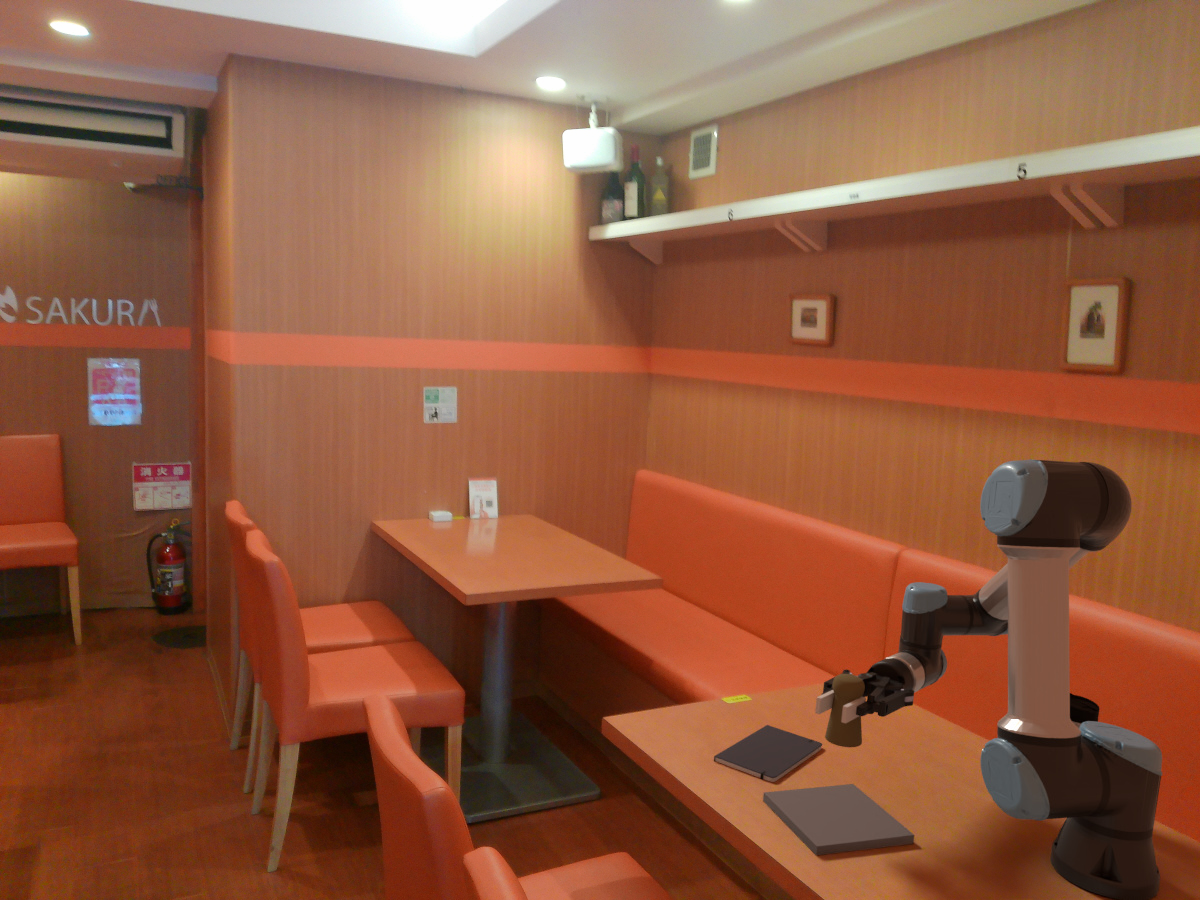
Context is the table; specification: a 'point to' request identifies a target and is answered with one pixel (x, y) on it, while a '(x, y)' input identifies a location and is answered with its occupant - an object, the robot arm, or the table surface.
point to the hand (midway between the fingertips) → (831, 710)
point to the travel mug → (1082, 710)
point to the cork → (839, 732)
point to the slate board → (837, 819)
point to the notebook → (768, 753)
